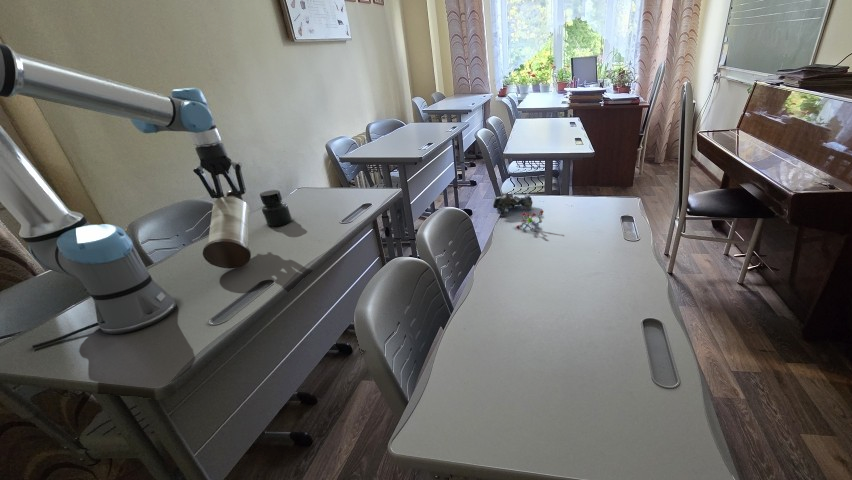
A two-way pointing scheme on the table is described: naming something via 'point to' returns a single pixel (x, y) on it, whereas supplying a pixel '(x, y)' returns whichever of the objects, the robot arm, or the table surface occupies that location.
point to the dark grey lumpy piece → (511, 202)
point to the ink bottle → (275, 208)
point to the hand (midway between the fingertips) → (237, 215)
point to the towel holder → (228, 233)
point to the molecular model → (530, 221)
